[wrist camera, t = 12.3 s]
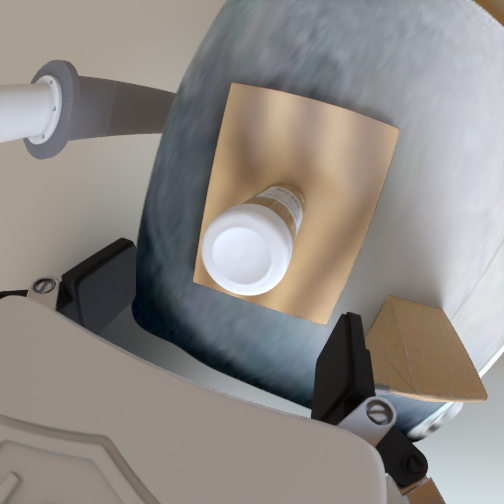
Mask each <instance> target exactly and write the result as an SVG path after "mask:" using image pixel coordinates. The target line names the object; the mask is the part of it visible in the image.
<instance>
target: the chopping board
mask: <svg viewBox="0 0 504 504" xmlns="http://www.w3.org/2000/svg"><path fill="white" fill-rule="evenodd" d="M399 131H400V129H399V128H396V127H394V126H391V125H389V124H386V123H384V122H381V121H379V120H376V119H374V118H371V117H368V116H365V115H363V114H360V113H357V112H354V111H351V110H348V109H345V108H342V107H339V106H336V105H332V104H329V103H326V102H322V101H319V100H315V99H311V98H307V97H304V96H300V95H295V94H291V93H287V92H282V91H278V90H273V89H268V88H263V87H257V86H252V85H246V84H239V83H231V87H230V91H229V95H228V99H227V103H226V108H225V112H224V116H223V120H222V125H221V129H220V134H219V138H218V143H217V148H216V152H215V157H214V162H213V167H212V172H211V177H210V182H209V187H208V193H207V198H206V204H205V209H204V215H203V221H202V227H201V233H200V239H199V245H198V251H197V258H196V265H195V272H194V279H193V282H196V283H198V284H201V285H204V286H207V287H209V288H212V289H215V290H218V291H221V292H223V293H226V294H229V295H232V296H235V297H238V298H241V299H244V300H247V301H249V302H252V303H255V304H258V305H261V306H264V307H268V308H271V309H274V310H277V311H280V312H283V313H286V314H289V315H292V316H296V317H299V318H302V319H305V320H308V321H312V322H315V323H318V324H322V325H326V324H327V322H328V320H329V318H330V316H331V314H332V312H333V310H334V307H335V305H336V303H337V301H338V299H339V297H340V295H341V292H342V290H343V288H344V286H345V284H346V281H347V279H348V277H349V274H350V272H351V270H352V267H353V265H354V263H355V260H356V258H357V255H358V253H359V251H360V248H361V246H362V243H363V241H364V238H365V235H366V233H367V230H368V228H369V225H370V222H371V220H372V217H373V214H374V211H375V209H376V206H377V203H378V200H379V197H380V194H381V191H382V188H383V185H384V182H385V179H386V176H387V173H388V169H389V166H390V163H391V159H392V156H393V153H394V149H395V146H396V142H397V138H398V135H399ZM280 182H281V183H287V184H290V185H292V186H294V187H296V188H297V189H298V191H300V193H301V194H302V196H303V197H304V200H305V213H304V217H303V219H302V221H301V224H300V227H299V230H298V233H297V236H296V239H295V242H294V244H293V245H292V246H293V247H292V255H291V259H290V262H289V265H288V268H287V270H286V272H285V274H284V276H283V278H282V279H281V281H280V282H279V283H278V284H277V285H276V286H275V287H273V288H272V289H270V290H269V291H267V292H264V293H261V294H258V295H240V294H236V293H233V292H230V291H228V290H226V289H224V288H223V287H221V286H220V285H219V284H218V283H216V282H215V281H214V280H213V279H212V277H211V276H210V275H209V273H208V272H207V270H206V268H205V266H204V264H203V260H202V256H201V241H202V237H203V234H204V232H205V230H206V228H207V226H208V225H209V224H210V222H211V221H212V220H213V219H215V218H216V217H217V216H218V215H220V214H221V213H222V212H224V211H226V210H227V209H229V208H231V207H233V206H236V205H239V204H242V203H244V202H245V201H247V200H248V199H249V198H250V197H252V196H253V195H255V194H257V193H258V192H260V191H263V190H264V189H265V188H266V187H268V186H269V185H271V184H274V183H280Z"/></svg>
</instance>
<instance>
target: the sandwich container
mask: <svg viewBox="0 0 504 504" xmlns="http://www.w3.org/2000/svg"><path fill="white" fill-rule="evenodd" d="M365 345H366V349H369V351H370V354H371V361H372V368H373V376H374V384H375V393H376V394H385V395H394V396H399V397H405V398H412V399H417V400H423V401H432V402H474V401H485V400H487V396H488V395H487V393H486V391H485V389H484V386H483V384H482V382H481V380H480V377H479V375H478V373H477V371H476V369H475V367H474V365H473V363H472V361H471V359H470V357H469V355H468V353H467V351H466V349H465V347H464V345H463V344H462V342H461V340H460V338H459V336H458V334H457V333H456V331H455V329H454V327H453V326H452V324H451V322H450V321H449V319H448V318H447V316H446V314H445V313H444V311H443V309H439V308H435V307H431V306H428V305H424V304H420V303H416V302H413V301H409V300H405V299H401V298H397V297H393V296H390V295H389V296H388V297H387V299H386V301H385V303H384V305H383V307H382V309H381V310H380V312H379V314H378V316H377V318H376V320H375V322H374V323H373V325H372V327H371V329H370V331H369V332H368V334H367V336H366V338H365Z"/></svg>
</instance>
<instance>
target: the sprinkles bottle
mask: <svg viewBox="0 0 504 504" xmlns="http://www.w3.org/2000/svg"><path fill="white" fill-rule="evenodd" d="M304 213H305V200H304V197H303V196H302V194H301V193H300V191H298V189H297V188H296V187H294V186H292V185H290V184H287V183H281V182H280V183H274V184H271V185H269V186H268V187H266V188H265V189H264V190H263V191H260V192H258V193H257V194H255V195H253V196H252V197H250V198H249V199H248V200H247V201H245V202H244V203H242V204H239V205H236V206H233V207H231V208H229V209H227V210H226V211H224V212H222V213H221V214H220V215H218V216H217V217H216V218H215V219H213V220H212V221H211V222H210V224H209V225H208V226H207V228H206V230H205V232H204V234H203V237H202V241H201V256H202V260H203V264H204V266H205V268H206V270H207V272H208V273H209V275H210V276H211V277H212V279H213V280H214V281H215V282H216V283H218V284H219V285H220V286H221V287H223V288H224V289H226V290H228V291H230V292H233V293H236V294H240V295H258V294H261V293H264V292H267V291H269V290H270V289H272V288H273V287H275V286H276V285H277V284H278V283H279V282H280V281H281V279H282V278H283V276H284V274H285V272H286V270H287V268H288V265H289V262H290V259H291V255H292V247H293V246H292V245H293V244H294V242H295V239H296V236H297V233H298V230H299V227H300V224H301V221H302V219H303V217H304Z"/></svg>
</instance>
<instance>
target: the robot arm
mask: <svg viewBox="0 0 504 504" xmlns="http://www.w3.org/2000/svg"><path fill="white" fill-rule="evenodd" d="M61 107H62V89H61V85H60V82H59V81H58V79H57V78H56V77H55V76H52V75H45V76H43V77H41V78H40V79H38V80H37V81H36V83H35V84H9V85H0V143H1V142H6V141H10V140H15V139H21V138H26V137H28V139H29V140H30V142H32V143H33V144H42V143H44V142H46V141H47V140H48V139H49V138H50V137H51V135H52V134H53V132H54V130H55V128H56V126H57V123H58V121H59V117H60V113H61ZM135 295H136V246H135V245H134V243H133V241H130V240H128V239H125V238H120V239H118V240H117V241H115V242H113V243H112V244H110V245H108V246H107V247H105V248H103V249H102V250H100V251H99V252H97V253H95V254H94V255H92V256H91V257H89V258H87V259H86V260H84V261H83V262H81V263H80V264H78V265H77V266H75V267H74V268H72V269H71V270H69V271H67V272H66V273H65V274H63V275H62V281H61V282H60V283H59V281H58V279H57V278H55V277H53V276H41V277H38V278H36V279H35V280H34V281H33V282H32V283H31V284H30V287H29V290H17V291H2V292H0V504H446V503H445V501H444V500H443V498H442V496H441V494H440V492H439V491H438V489H437V487H436V486H435V483H434V482H433V480H432V478H431V477H430V478H427V477H426V473H427V469H428V463H427V460H426V457H425V456H424V455H423V453H421V452H420V451H419V450H418V449H417V448H416V447H415V446H414V445H413V444H412V443H411V442H410V441H409V440H408V439H407V438H406V437H405V436H404V435H403V434H402V433H401V432H400V431H399V430H398V429H397V428H396V427H395V426H394V423H395V421H396V411H395V409H394V407H393V405H392V404H391V403H390V402H389V401H387V400H386V399H384V398H381V397H377V396H376V393H375V384H374V376H373V368H372V361H371V354H370V351H369V349H366V345H365V338H364V332H363V326H362V320H361V316H360V315H358V314H354V313H351V312H347V313H346V314H342V315H341V316H340V318H339V320H338V322H337V324H336V326H335V328H334V329H333V331H332V333H331V335H330V337H329V339H328V341H327V343H326V344H325V346H324V348H323V350H322V352H321V353H320V355H319V357H318V359H317V362H316V369H315V381H314V392H313V402H312V412H311V419H310V418H307V417H303V416H299V415H295V414H291V413H288V412H284V411H280V410H277V409H273V408H270V407H266V406H263V405H260V404H256V403H253V402H250V401H247V400H244V399H241V398H238V397H234V396H232V395H228V394H226V393H223V392H220V391H217V390H215V389H211V388H209V387H206V386H204V385H201V384H199V383H196V382H194V381H191V380H189V379H186V378H184V377H181V376H179V375H177V374H174V373H172V372H170V371H167V370H165V369H163V368H161V367H158V366H156V365H154V364H152V363H150V362H148V361H145V360H144V359H141V358H139V357H137V356H135V355H133V354H131V353H129V352H127V351H125V350H124V349H122V348H120V347H118V346H116V345H114V344H112V343H110V342H108V341H107V340H105V339H103V338H101V337H99V336H98V335H99V333H100V332H102V331H103V329H105V327H106V326H107V325H108V324H110V322H112V321H113V320H114V319H115V317H117V316H118V315H119V314H120V313H121V312H122V311H123V310H124V308H126V307H127V306H128V305H129V304H130V303H131V302H132V301H133V300H134V298H135Z"/></svg>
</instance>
